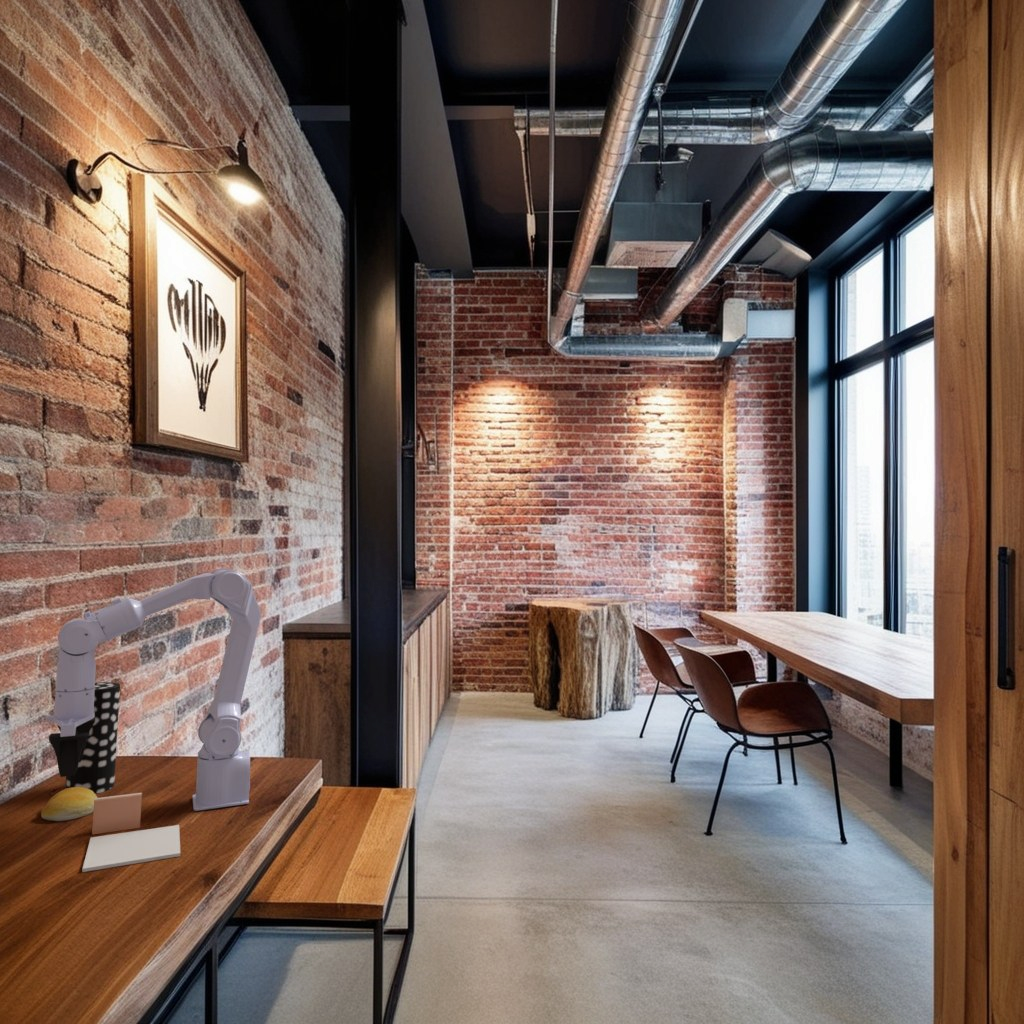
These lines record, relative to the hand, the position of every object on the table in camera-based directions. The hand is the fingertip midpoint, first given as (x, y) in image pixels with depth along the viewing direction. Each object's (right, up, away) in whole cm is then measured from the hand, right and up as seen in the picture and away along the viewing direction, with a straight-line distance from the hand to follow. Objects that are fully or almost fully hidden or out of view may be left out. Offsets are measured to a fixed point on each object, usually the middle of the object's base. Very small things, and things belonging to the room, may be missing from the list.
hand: (71, 768), depth 116 cm
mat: (+16, -10, -8) cm, 20 cm away
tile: (+9, -10, -1) cm, 13 cm away
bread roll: (-4, -10, +6) cm, 13 cm away
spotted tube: (-8, -11, +18) cm, 22 cm away
